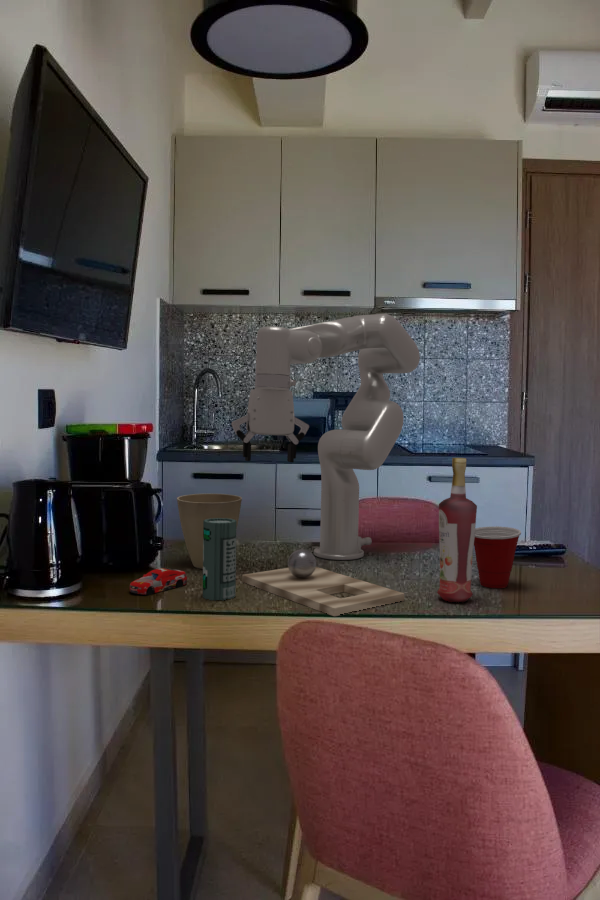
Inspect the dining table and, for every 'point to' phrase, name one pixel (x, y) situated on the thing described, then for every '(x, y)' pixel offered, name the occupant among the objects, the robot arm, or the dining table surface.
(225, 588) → the can
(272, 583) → the wooden recessed tray
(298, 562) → the steel ball
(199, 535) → the plant pot
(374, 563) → the dining table surface
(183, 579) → the race car
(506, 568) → the plastic cup
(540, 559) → the dining table surface
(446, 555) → the liquor
